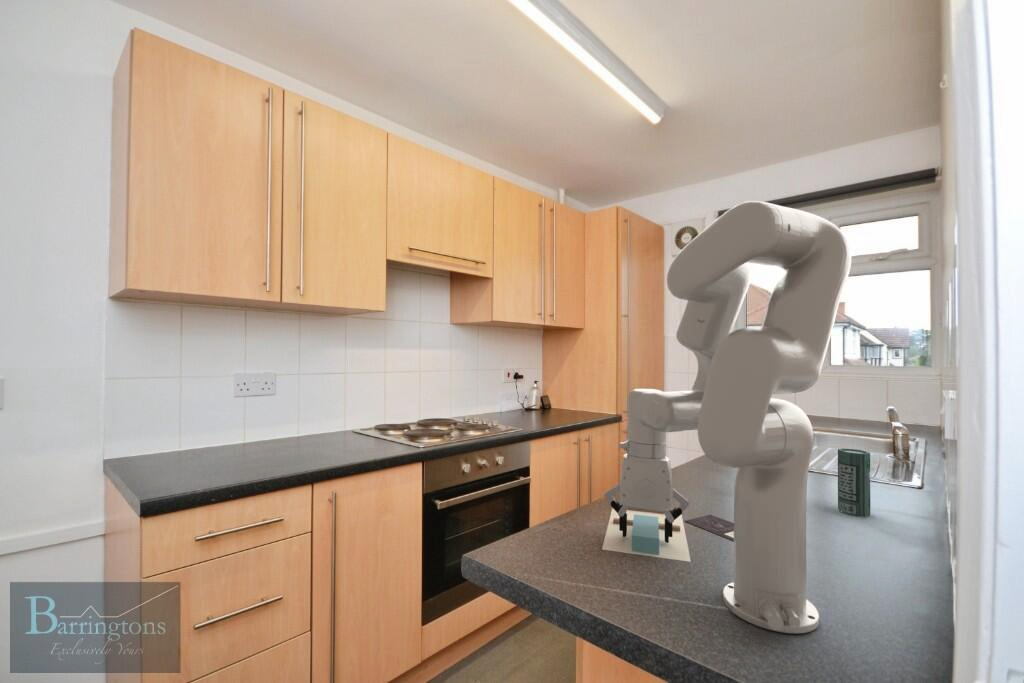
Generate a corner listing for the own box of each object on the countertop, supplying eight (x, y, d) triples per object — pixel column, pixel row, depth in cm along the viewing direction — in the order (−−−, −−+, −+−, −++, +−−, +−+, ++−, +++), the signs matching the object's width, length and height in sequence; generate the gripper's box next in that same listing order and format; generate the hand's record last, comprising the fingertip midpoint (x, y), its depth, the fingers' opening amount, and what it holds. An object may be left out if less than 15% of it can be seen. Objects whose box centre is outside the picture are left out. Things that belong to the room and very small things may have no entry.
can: (875, 514, 110) (875, 452, 110) (859, 517, 107) (859, 454, 108) (848, 506, 115) (848, 447, 116) (833, 509, 113) (832, 449, 113)
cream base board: (690, 563, 82) (690, 557, 82) (601, 551, 87) (602, 545, 87) (681, 515, 107) (681, 510, 107) (612, 507, 112) (612, 502, 112)
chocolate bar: (710, 514, 107) (788, 543, 91) (710, 518, 107) (788, 548, 91) (684, 520, 102) (761, 552, 87) (684, 525, 102) (761, 557, 87)
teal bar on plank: (659, 554, 85) (659, 538, 85) (631, 551, 86) (631, 535, 86) (658, 531, 96) (658, 517, 96) (633, 528, 98) (633, 514, 98)
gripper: (601, 450, 91) (599, 538, 90) (693, 457, 86) (693, 551, 85) (604, 443, 98) (603, 525, 98) (690, 449, 93) (689, 536, 93)
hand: (645, 536), depth 91 cm, fingers open, 7 cm apart
